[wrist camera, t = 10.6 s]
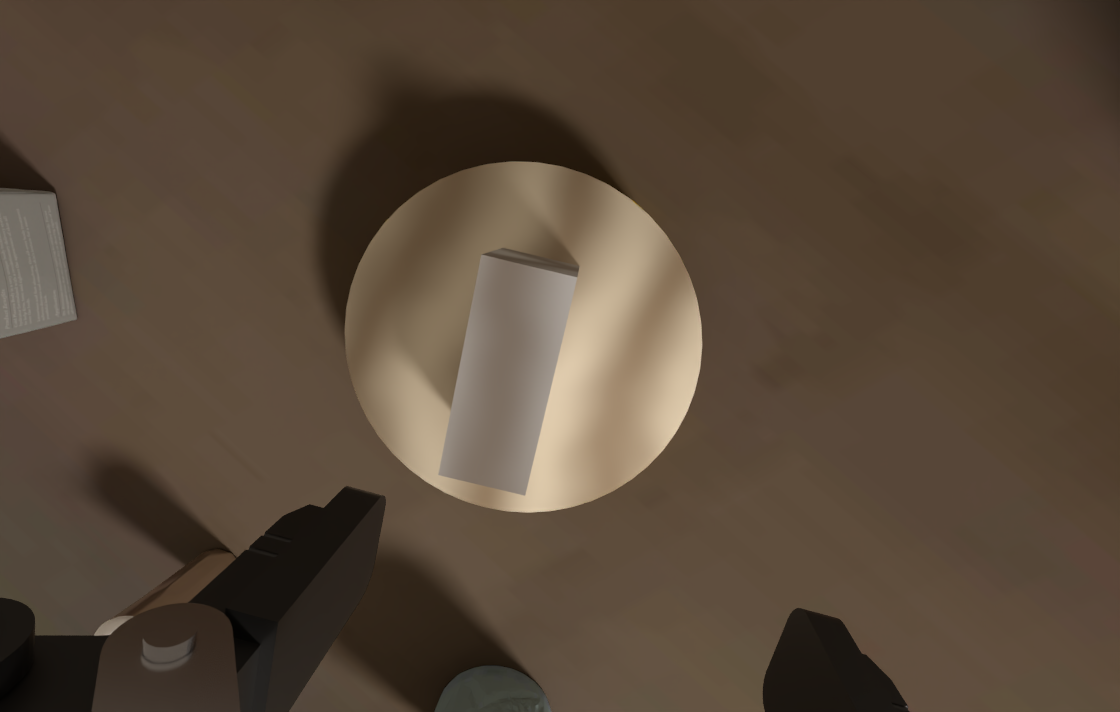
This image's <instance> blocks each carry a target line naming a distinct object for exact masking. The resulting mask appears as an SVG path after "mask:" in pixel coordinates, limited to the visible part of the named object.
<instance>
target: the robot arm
mask: <svg viewBox="0 0 1120 712" xmlns="http://www.w3.org/2000/svg"><path fill="white" fill-rule="evenodd" d="M385 505H386V499H385V496H383V495H379V494H375V493H371V492H368V491H364V490H360V489H356V488H353V487H349V486H346V487H344V488H343V489H342V490H341V491H340V492H339V493H338V494H337V495H336V496H335V497H334V498H333V499H332V500H331V501H330V502H329V503H328V504H327V505H326V506H325V507H324V508H321V507H318V506H314V505H310V504H309V505H307V506H305V507H302V508H300V509H298V510H295V511H293V512H291V513H288V514H286V515H284V516H283V517H281V518H280V519H279V520H278V521H277V522H276V523H275V524H274V525H273V526H272V527H270V528H269V529H268V530H267V531H266V532H265V535H264V536H261V537H259V538H258V539H257V540H256V541H255V542H254V543H253V544H252V545H251V546H250V548H249V550H245V551H244V552H243V553H242V554H241V555H240V556H239V557H237V558H236V559H235V560H234V561H233V562H232V563H231V564H230V565H229V566H228V567H227V568H225V569H224V570H223V571H222V572H221V573H220V574H219V575H218V576H217V577H216V578H214V579H213V580H212V581H211V582H210V583H209V584H208V585H207V586H206V587H205V588H203V589H202V590H201V591H200V592H199V593H198V594H197V595H196V596H195V597H194V598H192V599H191V600H190V601H189V602H188V603H177V604H169V605H164V606H160V607H157V608H153V609H150V610H147V611H145V612H143V613H140V614H138V615H136V616H134V617H132V618H131V619H129V620H127V621H126V622H124V623H123V624H121V625H120V626H119V627H118V628H117V629H116V630H114V631H113V632H112V634H111V635H100V636H35V616H34V614H33V612H32V610H31V609H30V608H29V607H28V606H27V605H25V604H23V603H21V602H19V601H15V600H12V599H6V598H0V712H289V710H290V709H291V707H292V706H293V704H294V702H295V701H296V699H297V698H298V696H299V695H300V693H301V692H302V690H303V689H304V687H305V685H306V684H307V682H308V681H309V679H310V678H311V676H312V675H313V673H314V672H315V670H316V668H317V667H318V665H319V664H320V662H321V661H322V659H323V658H324V656H325V654H326V653H327V651H328V650H329V648H330V647H331V645H332V644H333V642H334V641H335V639H336V637H337V636H338V634H339V633H340V631H341V630H342V628H343V627H344V625H345V624H346V622H347V620H348V619H349V617H350V616H351V614H352V613H353V611H354V610H355V608H356V606H357V605H358V603H359V602H360V600H361V599H362V597H363V595H364V593H365V591H366V588H367V586H368V583H369V581H370V578H371V575H372V572H373V568H374V563H375V558H376V553H377V548H378V542H379V537H380V532H381V527H382V522H383V516H384V511H385ZM763 704H764V709H765V712H909V711H908V706H907V704H906V703H905V701H904V699H903V698H902V696H901V695H900V693H899V691H898V690H897V688H896V687H895V685H894V684H893V682H892V680H891V679H890V678H889V677H888V676H887V675H886V674H885V673H884V672H883V671H882V670H881V669H880V668H879V667H878V666H877V665H876V664H875V663H874V662H873V661H872V660H871V659H870V658H869V657H868V656H867V655H865V654H862V653H861V652H860V650H859V648H858V647H857V645H856V643H855V642H854V640H853V638H852V637H851V635H850V633H849V632H848V630H847V628H846V627H845V625H844V624H843V622H842V621H841V620H840V619H838V618H834V617H831V616H827V615H823V614H820V613H816V612H812V611H808V610H805V609H801V608H797V609H795V610H793V611H792V613H791V614H790V616H789V618H788V620H787V623H786V625H785V627H784V630H783V632H782V635H781V637H780V640H779V642H778V644H777V647H776V649H775V652H774V654H773V657H772V659H771V662H770V664H769V666H768V669H767V671H766V674H765V678H764V684H763Z"/></svg>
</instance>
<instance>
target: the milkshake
mask: <svg viewBox="0 0 1120 712" xmlns="http://www.w3.org/2000/svg"><path fill="white" fill-rule="evenodd" d="M235 559H236V558H235V557H234V555H233V554H232V553H230V552H227V551H224V550H221V549H218V548H217V549H213V550H209V551H205V552H203V553H202V554H200V555H199V556H198V557H196V558H195V559H193V560H192V561H191V562H189V563H188V564H187V565H185V566H184V567H183V568H181V569H180V570H178V571H177V572H176V573H174V574H173V575H172V576H170V577H169V578H168V579H166V580H165V581H163V582H162V583H161V584H159V585H158V586H157V587H155V588H154V589H153V590H151V591H150V592H149V593H147V594H146V595H144V596H143V597H142V598H140V599H139V600H137V601H136V602H134V603H133V604H131V605H130V606H129V607H127V608H126V609H124V610H123V611H121V612H120V613H118V614H117V615H116V616H114V617H113V618H111V619H110V620H108V621H107V622H105V623H103V624H102V625H101V626H100V627H99V628H98V630H97V631H96V633H95V634H94V636H100V635H111V634H112V632H113V631H114V630H116V629H117V628H118V627H119V626H120V625H121V624H123V623H124V622H126V621H127V620H129V619H131V618H132V617H134V616H136V615H138V614H140V613H143V612H145V611H147V610H150V609H153V608H157V607H160V606H164V605H169V604H177V603H188V602H189V601H190V600H191V599H192V598H194V597H195V596H196V595H197V594H198V593H199V592H200V591H201V590H202V589H203V588H205V587H206V586H207V585H208V584H209V583H210V582H211V581H212V580H213V579H214V578H216V577H217V576H218V575H219V574H220V573H221V572H222V571H223V570H224V569H225V568H227V567H228V566H229V565H230V564H231V563H232V562H233V561H234V560H235Z"/></svg>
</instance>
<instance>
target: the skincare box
mask: <svg viewBox="0 0 1120 712" xmlns="http://www.w3.org/2000/svg"><path fill="white" fill-rule="evenodd" d="M76 319H77V314H76V309H75V303H74V297H73V291H72V286H71V280H70V274H69V269H68V263H67V257H66V251H65V245H64V240H63V234H62V228H61V223H60V217H59V211H58V205H57V199H56V195H55V193H53V192H50V191H37V190H23V189H10V188H0V338H4V337H8V336H12V335H16V334H21V333H25V332H29V331H33V330H37V329H41V328H45V327H49V326H53V325H57V324H61V323H65V322H69V321H73V320H76Z"/></svg>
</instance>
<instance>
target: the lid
mask: <svg viewBox="0 0 1120 712" xmlns="http://www.w3.org/2000/svg"><path fill="white" fill-rule="evenodd" d="M345 347H346V357H347V362H348V367H349V373H350V377H351V380H352V383H353V386H354V389H355V392H356V395H357V398H358V400H359V402H360V404H361V406H362V409H363V411H364V413H365V415H366V417H367V419H368V420H369V422H370V423H371V425H372V426H373V428H374V430H375V431H376V433H377V434H378V436H379V437H380V438H381V440H382V441H383V442H384V443H385V445H386V446H387V447H388V448H389V449H390V451H391V452H392V453H393V454H394V455H395V456H396V457H397V458H398V459H399V460H400V461H401V462H402V463H403V464H404V465H405V466H407V467H408V468H409V469H410V470H411V471H413V472H414V473H415V474H417V475H418V476H419V477H421V478H422V479H423V480H425V481H426V482H428V483H429V484H431V485H433V486H435V487H436V488H438V489H440V490H441V491H443V492H445V493H447V494H449V495H452V496H454V497H456V498H459V499H461V500H463V501H466V502H469V503H472V504H476V505H479V506H482V507H486V508H491V509H497V510H503V511H512V512H544V511H554V510H559V509H564V508H570V507H574V506H577V505H580V504H583V503H586V502H590V501H593V500H595V499H597V498H599V497H601V496H604V495H606V494H608V493H610V492H612V491H614V490H616V489H617V488H619V487H620V486H622V485H624V484H625V483H627V482H628V481H630V480H631V479H633V478H634V477H635V476H636V475H638V474H639V473H640V472H641V471H642V470H644V469H645V468H646V467H647V466H648V465H649V464H650V463H651V462H652V461H653V460H654V459H655V458H656V457H657V456H658V455H659V454H660V453H661V452H662V451H663V450H664V448H665V447H666V445H667V444H668V443H669V441H670V440H671V439H672V437H673V436H674V434H675V433H676V431H677V430H678V428H679V426H680V424H681V422H682V420H683V419H684V417H685V415H686V413H687V411H688V408H689V405H690V403H691V400H692V397H693V395H694V392H695V388H696V384H697V380H698V376H699V371H700V364H701V353H702V330H701V319H700V313H699V308H698V302H697V298H696V295H695V292H694V288H693V285H692V282H691V279H690V276H689V274H688V272H687V270H686V268H685V266H684V264H683V262H682V260H681V258H680V255H679V254H678V252H677V251H676V249H675V248H674V246H673V245H672V243H671V242H670V240H669V239H668V237H667V236H666V234H665V233H664V232H663V231H662V229H661V228H660V227H659V226H658V225H657V224H656V223H655V221H654V220H653V219H652V218H651V217H650V216H649V215H648V214H647V213H646V212H645V211H644V210H642V209H641V208H640V207H639V206H638V205H637V204H636V203H634V202H633V201H632V200H631V199H630V198H628V197H627V196H625V195H624V194H622V193H621V192H619V191H617V190H616V189H614V188H613V187H611V186H610V185H608V184H606V183H604V182H602V181H600V180H598V179H595V178H593V177H591V176H589V175H587V174H584V173H581V172H578V171H575V170H572V169H568V168H565V167H562V166H557V165H551V164H545V163H539V162H515V161H510V162H501V163H492V164H485V165H481V166H477V167H473V168H469V169H465V170H462V171H459V172H457V173H454V174H452V175H450V176H447V177H445V178H442V179H440V180H438V181H436V182H435V183H433V184H431V185H430V186H428V187H426V188H424V189H423V190H421V191H419V192H418V193H417V194H415V195H414V196H413V197H412V198H410V199H409V200H408V201H406V202H405V203H404V204H403V205H401V206H400V207H399V208H398V209H397V210H396V211H395V212H394V213H393V214H392V215H391V217H390V218H389V219H388V220H387V221H386V222H385V223H384V224H383V225H382V227H381V228H380V229H379V231H378V232H377V234H376V235H375V236H374V238H373V239H372V241H371V242H370V243H369V245H368V247H367V249H366V251H365V253H364V255H363V257H362V259H361V261H360V263H359V265H358V268H357V270H356V273H355V276H354V279H353V282H352V284H351V288H350V293H349V298H348V302H347V307H346V318H345Z"/></svg>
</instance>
